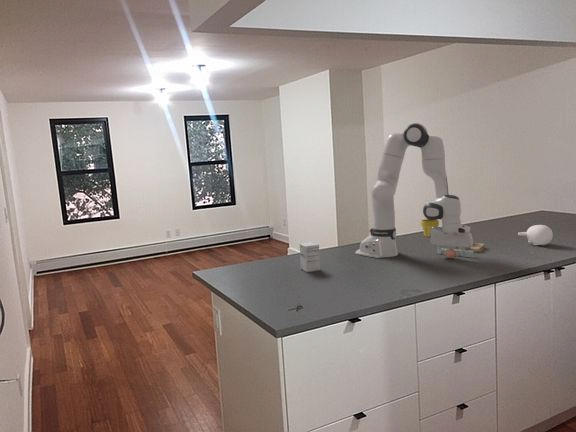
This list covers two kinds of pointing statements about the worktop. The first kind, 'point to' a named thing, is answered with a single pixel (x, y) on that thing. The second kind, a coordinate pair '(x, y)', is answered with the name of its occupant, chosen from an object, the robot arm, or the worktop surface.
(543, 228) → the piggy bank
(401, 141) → the robot arm
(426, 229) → the plant pot
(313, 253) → the supplement box
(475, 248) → the birch tray
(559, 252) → the worktop surface
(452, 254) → the coral ball
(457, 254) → the aqua wall
